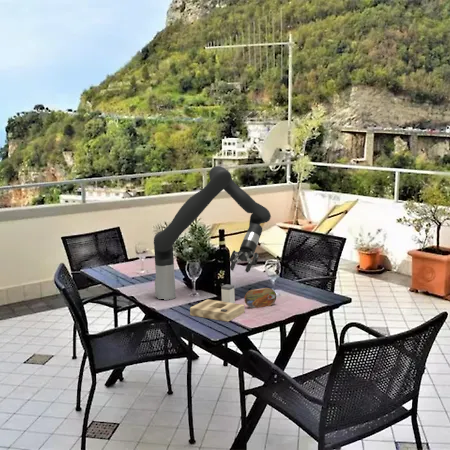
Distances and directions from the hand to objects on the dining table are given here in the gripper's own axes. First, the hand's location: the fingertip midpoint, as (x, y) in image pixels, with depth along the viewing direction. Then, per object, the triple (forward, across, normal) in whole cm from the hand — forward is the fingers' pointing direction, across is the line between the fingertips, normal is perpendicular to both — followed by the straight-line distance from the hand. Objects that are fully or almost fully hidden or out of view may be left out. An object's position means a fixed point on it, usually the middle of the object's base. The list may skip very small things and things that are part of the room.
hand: (239, 270), depth 272 cm
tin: (+15, +15, +5) cm, 22 cm away
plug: (+17, 0, +2) cm, 18 cm away
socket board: (+27, +3, -8) cm, 28 cm away
